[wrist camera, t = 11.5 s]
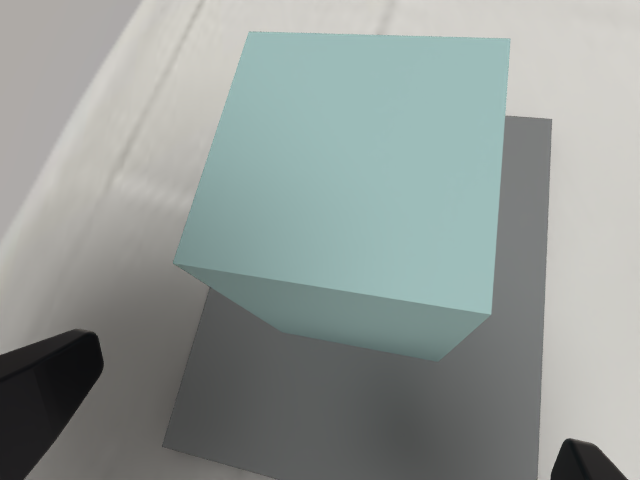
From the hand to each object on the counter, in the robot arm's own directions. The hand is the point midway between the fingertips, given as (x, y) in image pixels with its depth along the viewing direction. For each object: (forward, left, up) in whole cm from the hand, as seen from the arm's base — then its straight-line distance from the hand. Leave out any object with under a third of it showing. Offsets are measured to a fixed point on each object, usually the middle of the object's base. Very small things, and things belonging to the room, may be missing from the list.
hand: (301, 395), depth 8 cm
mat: (+5, -1, -9) cm, 10 cm away
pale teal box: (+5, -1, -8) cm, 10 cm away
